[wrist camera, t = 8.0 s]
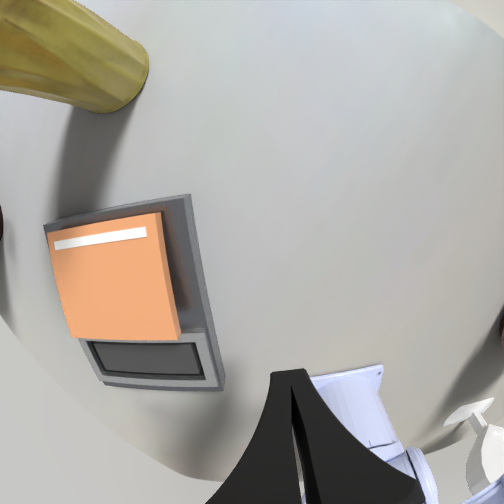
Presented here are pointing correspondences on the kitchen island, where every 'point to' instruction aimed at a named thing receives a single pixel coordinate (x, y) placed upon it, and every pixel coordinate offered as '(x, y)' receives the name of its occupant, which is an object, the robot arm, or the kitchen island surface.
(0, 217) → the coffee mug
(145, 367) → the plunger
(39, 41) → the vase
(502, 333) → the flowerpot
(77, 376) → the kitchen island surface
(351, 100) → the kitchen island surface
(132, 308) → the panel
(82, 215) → the console
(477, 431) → the heart sculpture
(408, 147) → the kitchen island surface
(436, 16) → the kitchen island surface
